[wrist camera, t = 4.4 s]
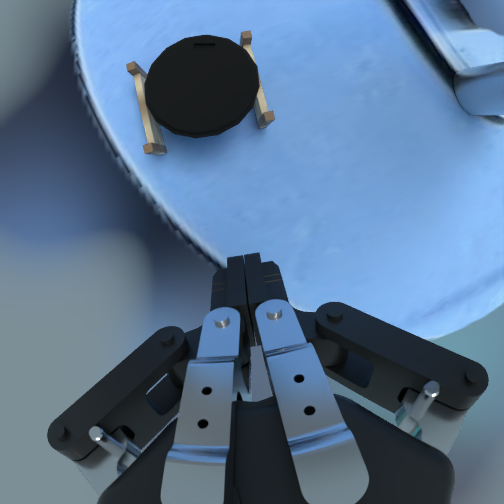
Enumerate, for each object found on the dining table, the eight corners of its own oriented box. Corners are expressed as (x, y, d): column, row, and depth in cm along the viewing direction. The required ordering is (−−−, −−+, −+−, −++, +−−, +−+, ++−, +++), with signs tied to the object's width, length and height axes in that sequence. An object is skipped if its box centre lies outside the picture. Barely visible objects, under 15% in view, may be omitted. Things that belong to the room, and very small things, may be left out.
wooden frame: (266, 127, 33) (274, 119, 27) (160, 155, 33) (144, 153, 26) (245, 52, 29) (250, 30, 23) (143, 79, 29) (126, 64, 23)
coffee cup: (172, 68, 29) (150, 33, 18) (253, 71, 30) (265, 34, 19) (163, 144, 33) (134, 137, 21) (246, 147, 34) (256, 140, 23)
